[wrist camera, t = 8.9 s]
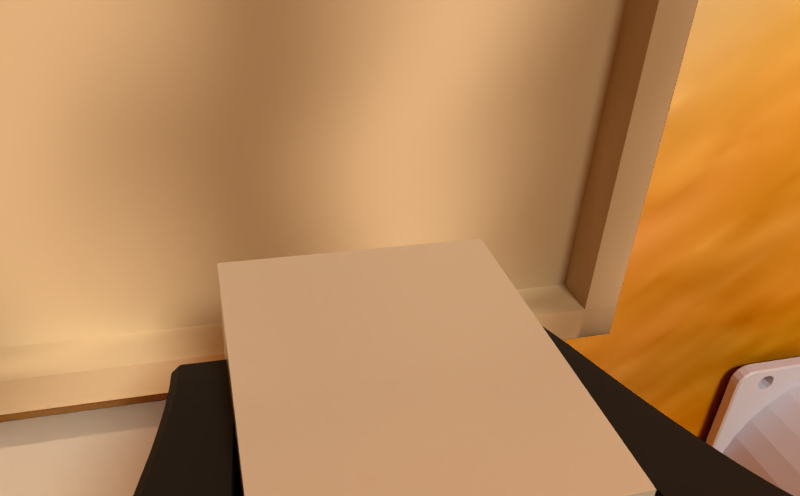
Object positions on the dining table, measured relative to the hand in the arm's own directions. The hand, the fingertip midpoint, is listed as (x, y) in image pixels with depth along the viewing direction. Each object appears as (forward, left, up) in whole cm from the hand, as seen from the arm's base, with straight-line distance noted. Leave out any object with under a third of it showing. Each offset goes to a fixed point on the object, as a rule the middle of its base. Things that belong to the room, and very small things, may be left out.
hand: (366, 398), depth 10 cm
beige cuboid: (0, 0, -1) cm, 1 cm away
